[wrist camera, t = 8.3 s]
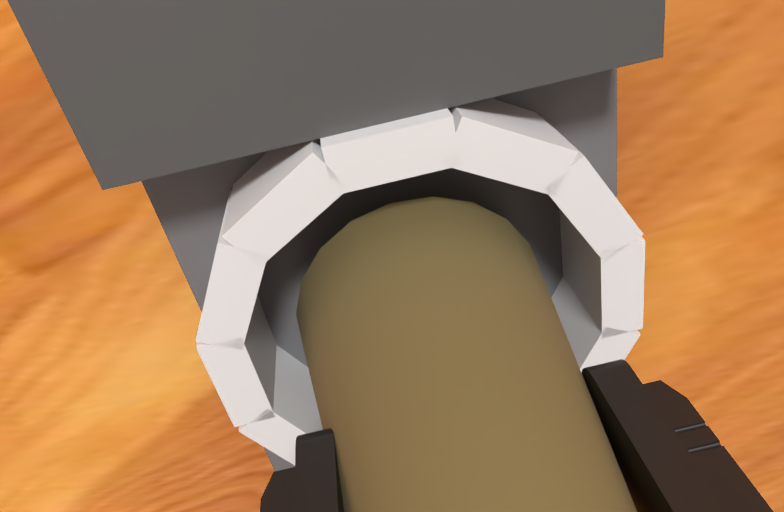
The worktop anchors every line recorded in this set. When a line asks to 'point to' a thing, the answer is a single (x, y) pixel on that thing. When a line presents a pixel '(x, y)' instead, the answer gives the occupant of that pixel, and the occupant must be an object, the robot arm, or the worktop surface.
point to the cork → (449, 369)
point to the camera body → (353, 151)
